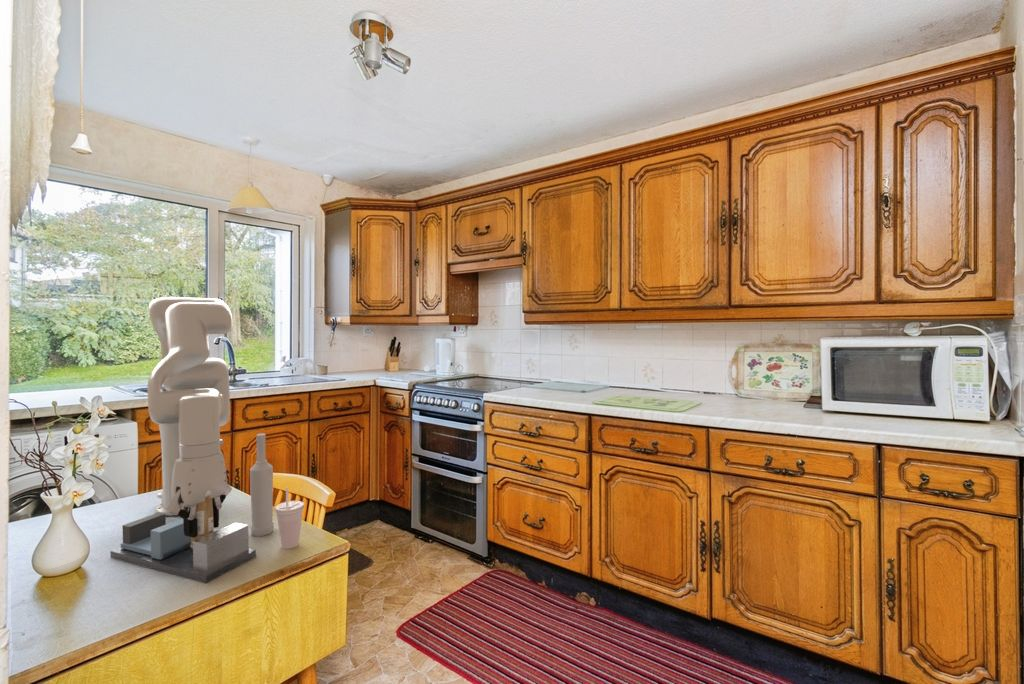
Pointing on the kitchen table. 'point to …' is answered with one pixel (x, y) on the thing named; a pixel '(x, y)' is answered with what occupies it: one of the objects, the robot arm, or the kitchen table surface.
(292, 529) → the smoothie
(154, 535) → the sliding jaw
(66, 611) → the kitchen table surface
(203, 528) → the spice jar
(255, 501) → the bottle
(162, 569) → the clamp base
